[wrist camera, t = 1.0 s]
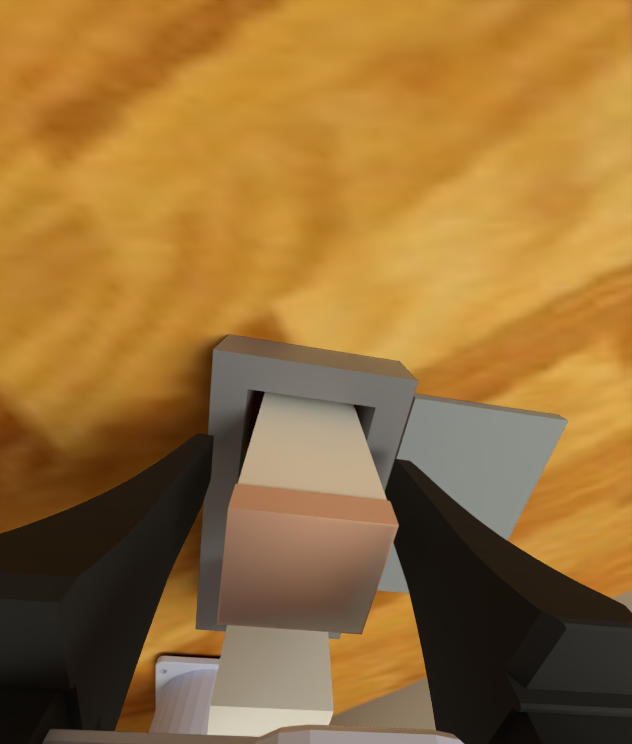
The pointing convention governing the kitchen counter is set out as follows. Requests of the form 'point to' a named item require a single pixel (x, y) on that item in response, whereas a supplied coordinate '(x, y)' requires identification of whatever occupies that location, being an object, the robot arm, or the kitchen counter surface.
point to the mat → (476, 460)
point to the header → (297, 378)
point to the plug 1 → (305, 522)
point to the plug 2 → (271, 681)
